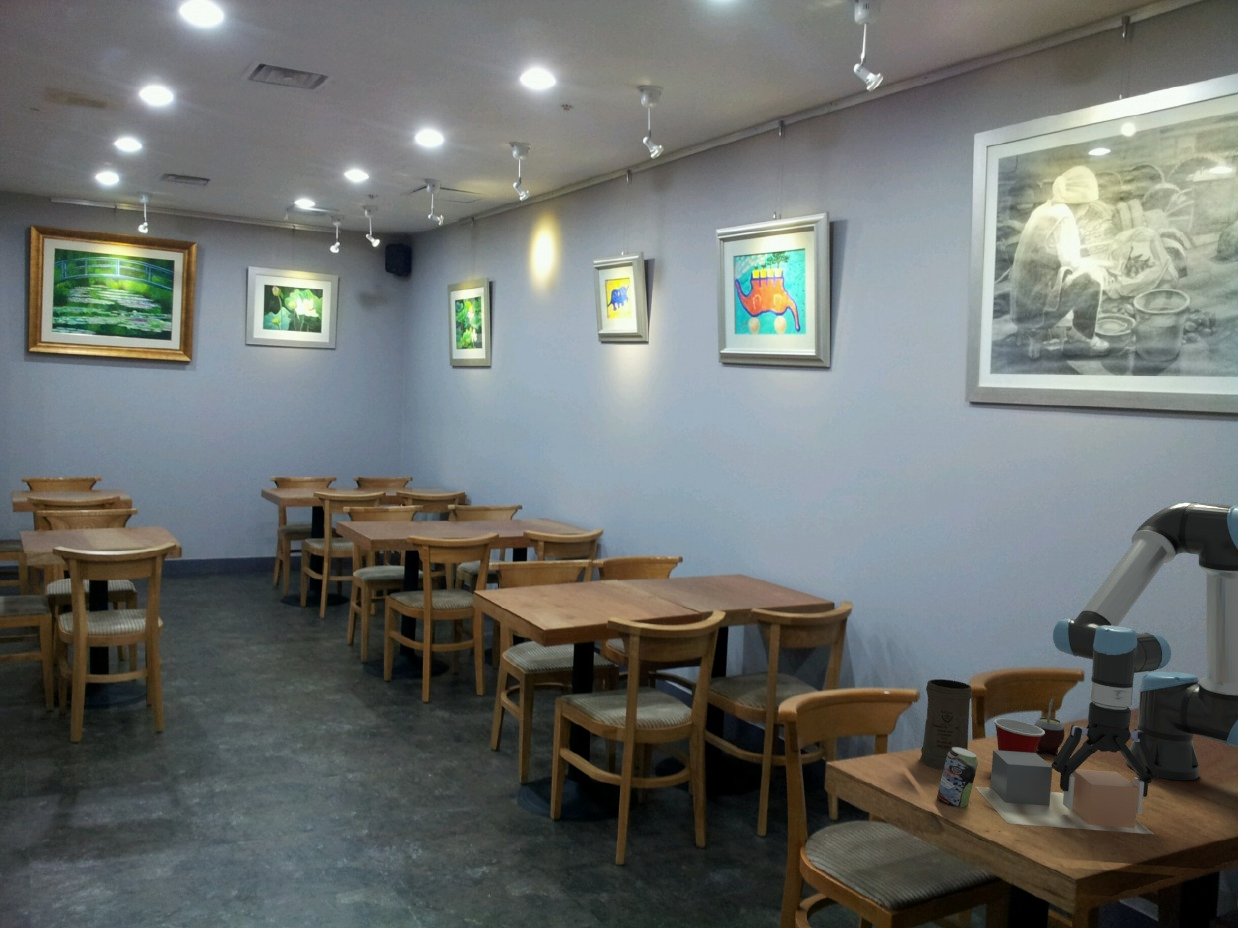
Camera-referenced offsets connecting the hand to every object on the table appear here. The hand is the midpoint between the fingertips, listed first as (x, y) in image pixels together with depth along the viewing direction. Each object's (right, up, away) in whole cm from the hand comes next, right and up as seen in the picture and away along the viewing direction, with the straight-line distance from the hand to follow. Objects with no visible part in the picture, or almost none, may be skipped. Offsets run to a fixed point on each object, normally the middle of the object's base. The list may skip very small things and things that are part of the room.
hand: (1101, 809), depth 200 cm
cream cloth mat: (-7, -2, +3) cm, 8 cm away
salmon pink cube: (0, -2, 0) cm, 2 cm away
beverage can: (-28, -1, +4) cm, 28 cm away
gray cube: (-13, -1, +9) cm, 16 cm away
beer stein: (-22, -1, +31) cm, 38 cm away
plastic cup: (-7, -2, +25) cm, 26 cm away
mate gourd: (+9, -2, +45) cm, 46 cm away
